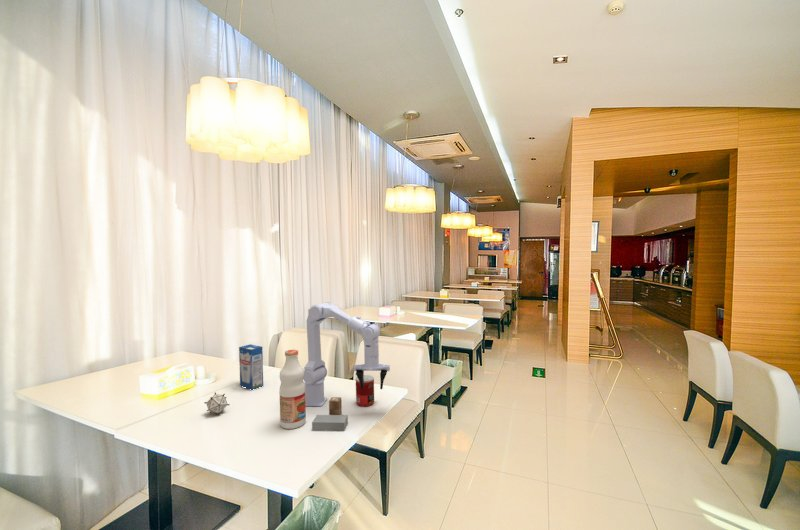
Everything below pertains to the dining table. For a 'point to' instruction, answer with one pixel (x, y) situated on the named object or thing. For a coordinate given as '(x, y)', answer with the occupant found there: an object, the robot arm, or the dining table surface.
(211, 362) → the dining table surface
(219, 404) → the grey spiked polyhedron
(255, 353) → the milk carton
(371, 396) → the canned food
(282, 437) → the dining table surface
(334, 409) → the walnut block
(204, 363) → the dining table surface
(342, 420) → the gray rectangular block
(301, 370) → the fruit juice
